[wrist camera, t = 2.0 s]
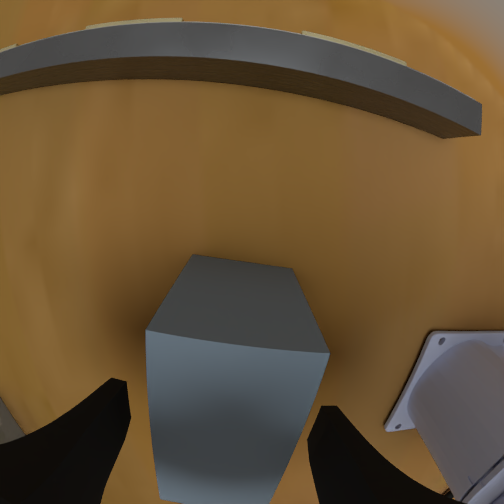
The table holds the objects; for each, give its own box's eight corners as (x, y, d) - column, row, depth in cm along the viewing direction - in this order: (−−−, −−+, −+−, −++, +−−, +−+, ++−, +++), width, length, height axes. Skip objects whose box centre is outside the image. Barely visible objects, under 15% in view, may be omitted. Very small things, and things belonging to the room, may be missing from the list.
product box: (292, 268, 14) (332, 353, 7) (260, 411, 16) (265, 510, 9) (193, 253, 13) (145, 329, 7) (183, 401, 16) (160, 498, 9)
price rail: (445, 101, 12) (481, 92, 9) (443, 138, 12) (481, 135, 9) (-34, 78, 10) (-62, 73, 7) (-41, 106, 10) (-70, 103, 8)
